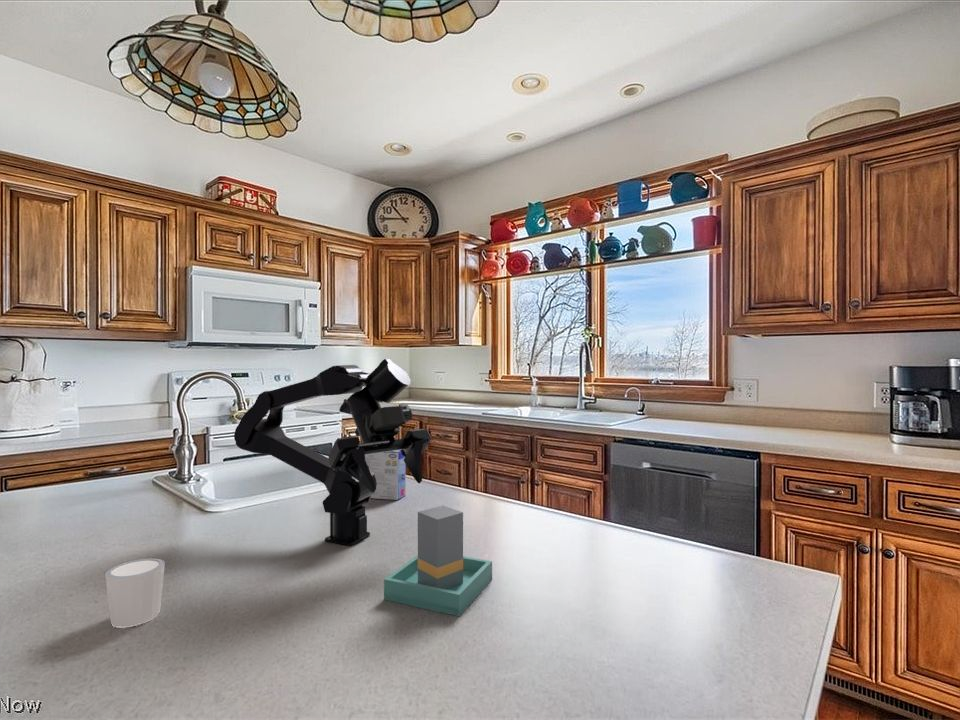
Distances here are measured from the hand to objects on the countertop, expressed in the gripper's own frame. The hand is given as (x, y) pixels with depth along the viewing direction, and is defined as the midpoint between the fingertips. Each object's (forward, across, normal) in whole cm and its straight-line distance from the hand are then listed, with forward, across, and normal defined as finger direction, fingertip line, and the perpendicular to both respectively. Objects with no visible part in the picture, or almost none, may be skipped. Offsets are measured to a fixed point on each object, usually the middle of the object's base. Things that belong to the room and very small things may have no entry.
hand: (398, 486), depth 88 cm
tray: (+19, 0, 0) cm, 19 cm away
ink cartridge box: (-17, +18, +37) cm, 44 cm away
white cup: (+5, -38, +14) cm, 41 cm away
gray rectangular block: (+18, 0, -1) cm, 18 cm away
